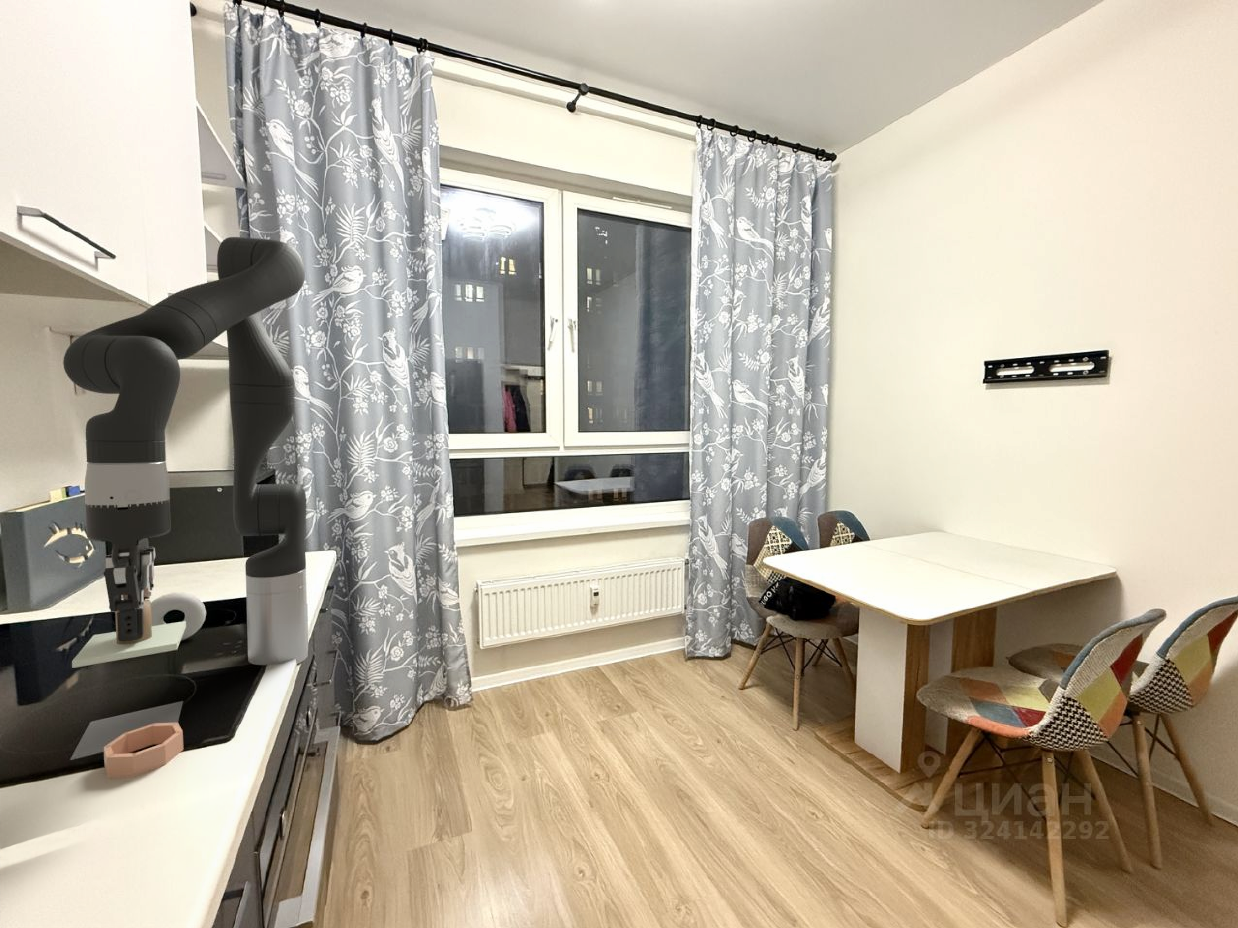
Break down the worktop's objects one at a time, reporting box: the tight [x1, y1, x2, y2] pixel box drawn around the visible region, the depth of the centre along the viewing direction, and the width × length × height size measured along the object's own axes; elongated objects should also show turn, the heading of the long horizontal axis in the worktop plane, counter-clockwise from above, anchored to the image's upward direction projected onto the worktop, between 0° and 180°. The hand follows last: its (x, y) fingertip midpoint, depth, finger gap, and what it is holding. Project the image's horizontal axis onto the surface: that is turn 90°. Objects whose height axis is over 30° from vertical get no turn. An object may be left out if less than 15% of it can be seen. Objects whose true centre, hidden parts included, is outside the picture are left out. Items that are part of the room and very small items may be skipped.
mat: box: [69, 700, 184, 761], centre depth 71 cm, size 10×10×2 cm
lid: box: [71, 599, 186, 669], centre depth 63 cm, size 9×9×5 cm
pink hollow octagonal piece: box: [103, 722, 184, 779], centre depth 64 cm, size 7×7×4 cm
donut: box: [151, 592, 207, 641], centre depth 101 cm, size 10×4×10 cm, turn 126°
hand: (134, 634), depth 63 cm, fingers closed on lid, 3 cm apart
